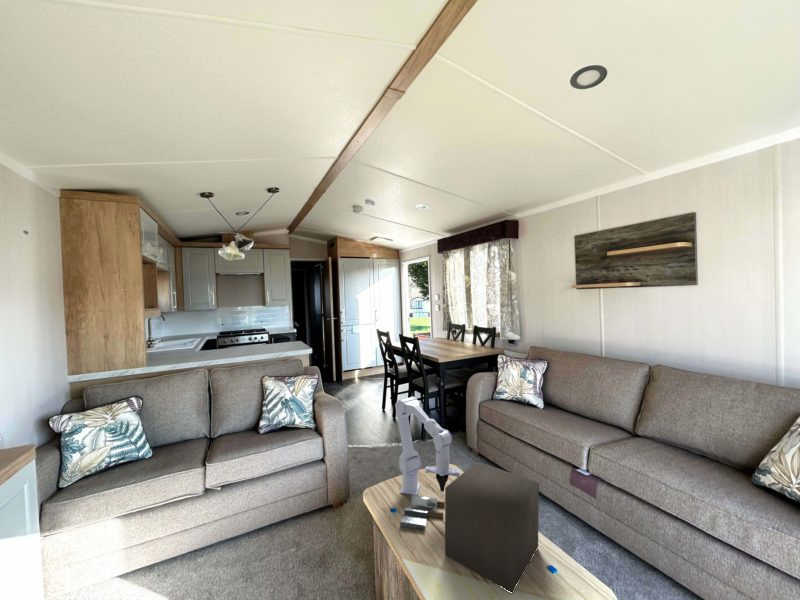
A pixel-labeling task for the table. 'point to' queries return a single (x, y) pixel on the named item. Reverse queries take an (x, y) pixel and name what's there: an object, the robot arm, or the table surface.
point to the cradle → (414, 519)
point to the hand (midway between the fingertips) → (442, 490)
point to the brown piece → (436, 513)
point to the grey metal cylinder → (423, 503)
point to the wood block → (492, 523)
